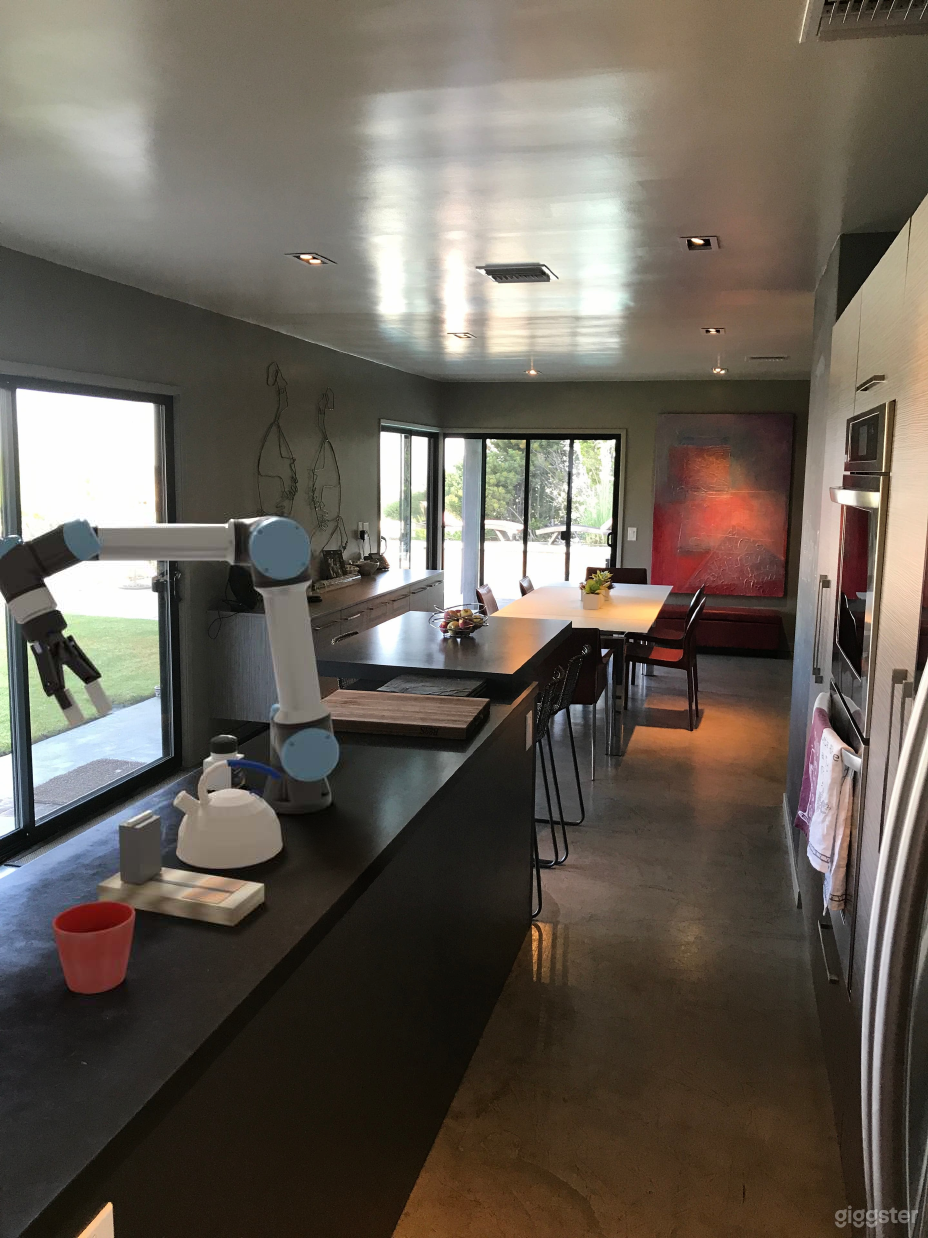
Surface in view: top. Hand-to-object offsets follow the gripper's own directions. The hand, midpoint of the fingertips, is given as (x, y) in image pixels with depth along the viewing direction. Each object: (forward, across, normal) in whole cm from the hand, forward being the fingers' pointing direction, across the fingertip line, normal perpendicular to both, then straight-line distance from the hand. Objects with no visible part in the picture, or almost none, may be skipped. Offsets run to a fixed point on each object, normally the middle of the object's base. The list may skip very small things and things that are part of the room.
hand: (93, 718), depth 175 cm
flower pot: (+35, +42, 0) cm, 55 cm away
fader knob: (+29, +14, 0) cm, 32 cm away
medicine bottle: (+27, -45, +1) cm, 52 cm away
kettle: (+35, -7, +8) cm, 37 cm away
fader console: (+35, +16, +5) cm, 39 cm away
